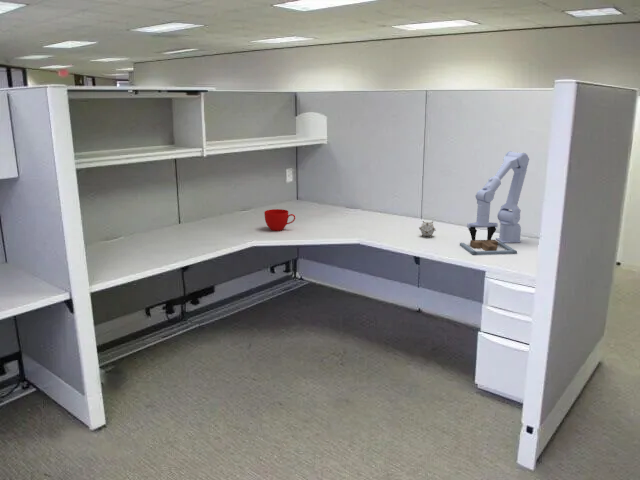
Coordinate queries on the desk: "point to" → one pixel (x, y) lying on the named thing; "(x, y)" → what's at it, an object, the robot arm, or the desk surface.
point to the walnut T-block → (484, 244)
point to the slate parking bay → (507, 251)
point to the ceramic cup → (277, 219)
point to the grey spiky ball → (427, 229)
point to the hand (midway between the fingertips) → (481, 241)
